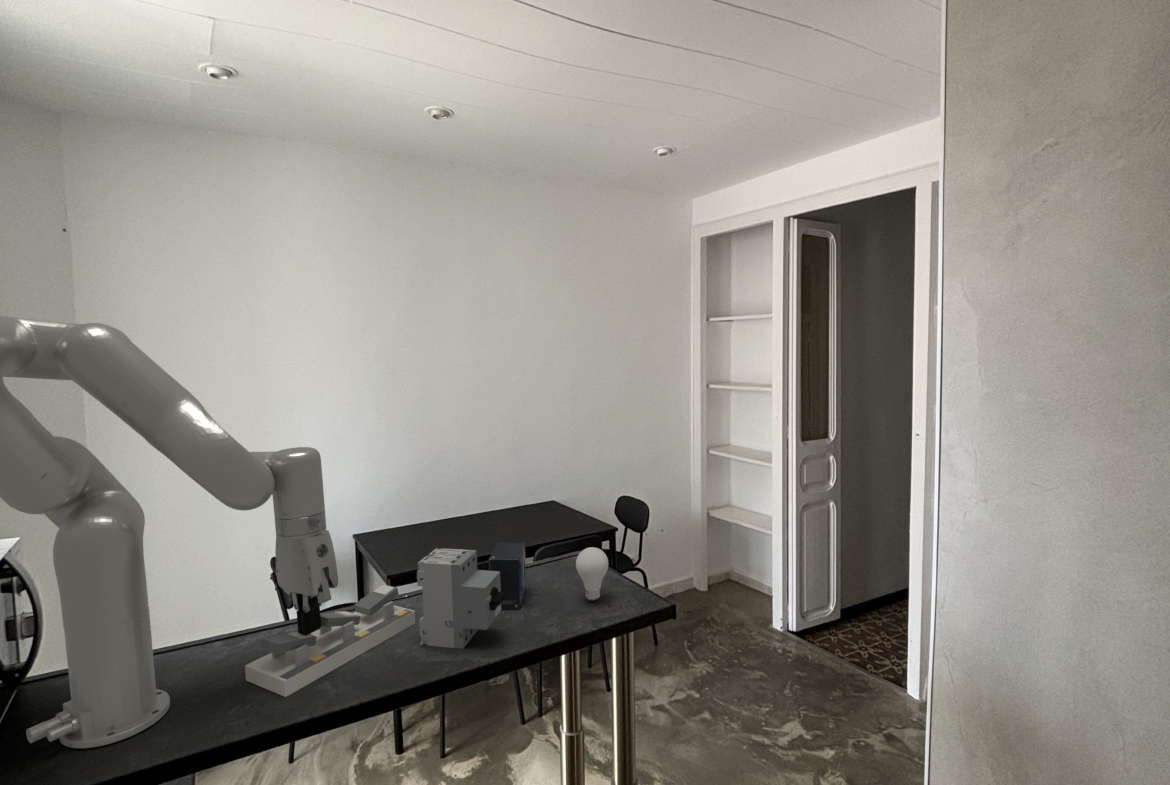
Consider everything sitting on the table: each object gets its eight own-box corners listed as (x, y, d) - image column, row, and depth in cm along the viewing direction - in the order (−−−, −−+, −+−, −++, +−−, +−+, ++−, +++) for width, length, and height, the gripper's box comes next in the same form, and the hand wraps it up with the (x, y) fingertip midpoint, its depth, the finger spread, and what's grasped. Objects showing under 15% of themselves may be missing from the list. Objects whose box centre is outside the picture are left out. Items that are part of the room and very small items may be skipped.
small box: (521, 610, 121) (520, 558, 120) (488, 610, 121) (487, 559, 120) (527, 588, 131) (525, 541, 130) (497, 589, 131) (495, 541, 130)
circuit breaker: (496, 651, 105) (493, 567, 103) (420, 645, 108) (416, 562, 106) (510, 631, 112) (508, 551, 111) (438, 625, 115) (435, 548, 114)
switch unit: (285, 697, 92) (283, 663, 92) (246, 680, 97) (243, 648, 97) (415, 623, 116) (414, 596, 115) (378, 613, 121) (376, 587, 120)
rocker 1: (276, 653, 94) (278, 642, 94) (260, 647, 96) (262, 637, 96) (315, 645, 100) (316, 635, 100) (299, 640, 102) (301, 630, 102)
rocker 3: (370, 616, 110) (368, 608, 110) (355, 611, 112) (353, 604, 112) (398, 594, 116) (397, 586, 116) (383, 590, 118) (382, 583, 118)
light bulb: (579, 593, 128) (578, 542, 127) (610, 594, 127) (609, 543, 126) (574, 607, 121) (573, 553, 120) (607, 608, 120) (606, 554, 120)
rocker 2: (326, 627, 102) (328, 617, 102) (310, 622, 104) (313, 612, 104) (358, 624, 108) (360, 615, 108) (343, 619, 110) (345, 610, 110)
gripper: (351, 522, 99) (359, 630, 101) (292, 512, 106) (301, 613, 108) (310, 536, 93) (320, 651, 94) (251, 524, 100) (261, 631, 102)
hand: (310, 630), depth 101 cm, fingers closed
